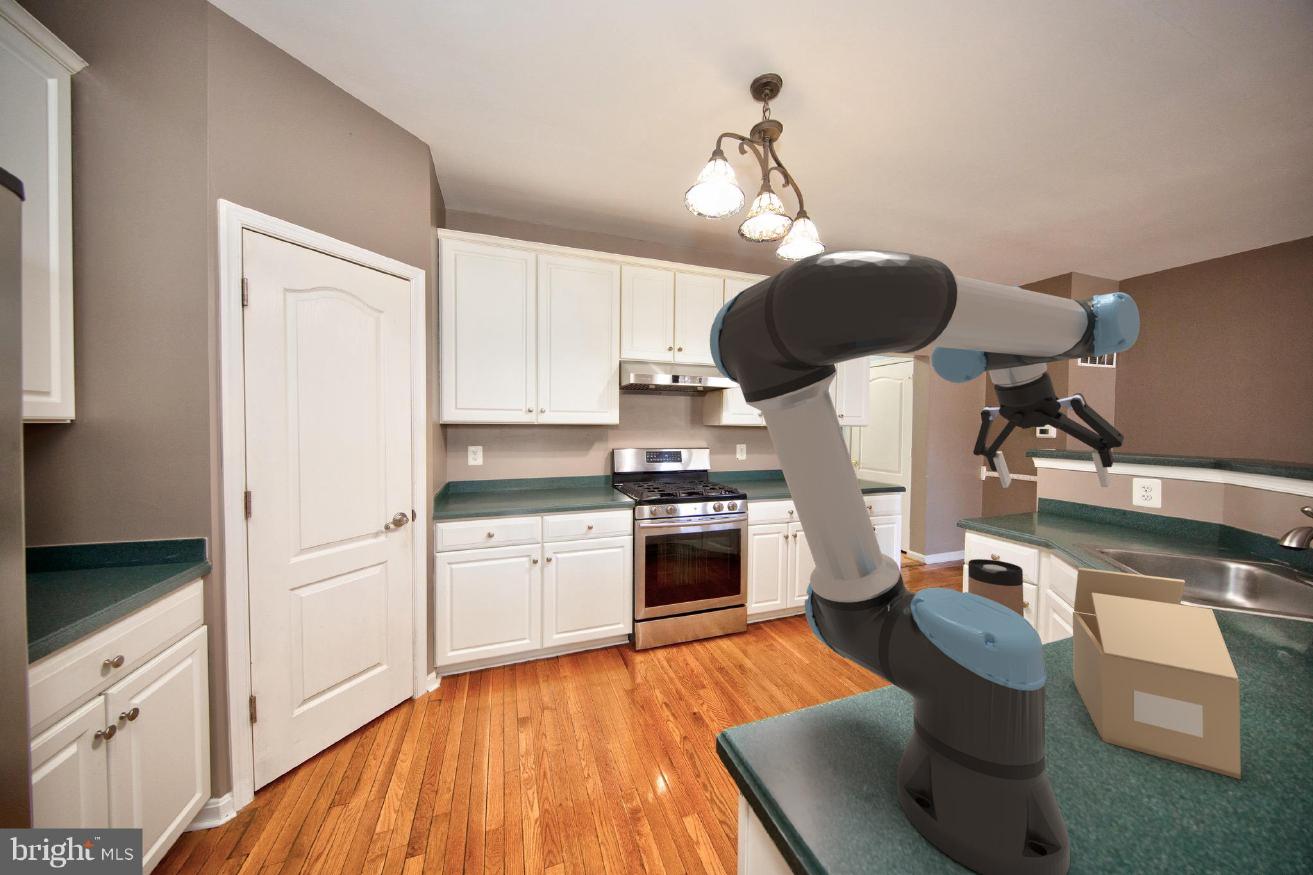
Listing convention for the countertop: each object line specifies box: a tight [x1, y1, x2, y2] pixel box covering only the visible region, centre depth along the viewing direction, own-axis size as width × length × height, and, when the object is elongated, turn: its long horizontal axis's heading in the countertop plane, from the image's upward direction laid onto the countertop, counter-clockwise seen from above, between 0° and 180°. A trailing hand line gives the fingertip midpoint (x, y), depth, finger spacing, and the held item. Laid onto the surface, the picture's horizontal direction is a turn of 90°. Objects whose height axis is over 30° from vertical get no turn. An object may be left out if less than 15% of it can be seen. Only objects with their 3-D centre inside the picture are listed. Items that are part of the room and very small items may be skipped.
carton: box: [1072, 611, 1242, 780], centre depth 64 cm, size 18×12×12 cm, turn 145°
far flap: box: [1073, 567, 1186, 615], centre depth 70 cm, size 9×12×1 cm
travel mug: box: [967, 558, 1025, 618], centre depth 75 cm, size 8×8×20 cm
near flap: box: [1091, 593, 1239, 680], centre depth 59 cm, size 9×12×1 cm
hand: (1053, 483), depth 79 cm, fingers open, 13 cm apart
